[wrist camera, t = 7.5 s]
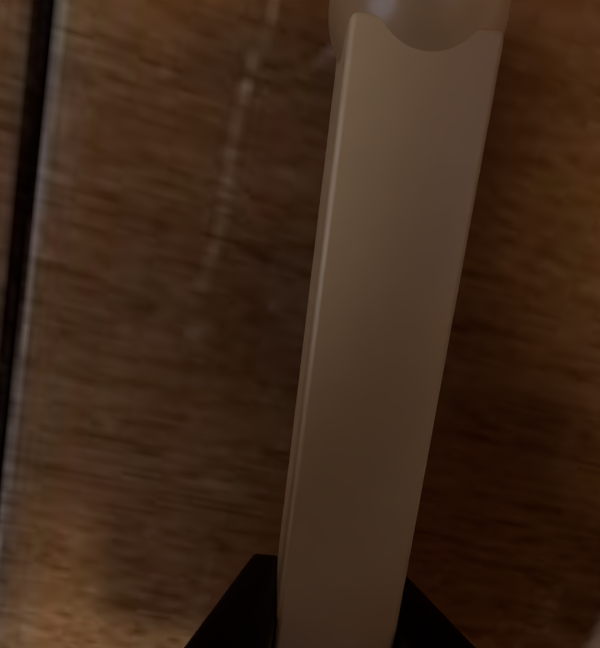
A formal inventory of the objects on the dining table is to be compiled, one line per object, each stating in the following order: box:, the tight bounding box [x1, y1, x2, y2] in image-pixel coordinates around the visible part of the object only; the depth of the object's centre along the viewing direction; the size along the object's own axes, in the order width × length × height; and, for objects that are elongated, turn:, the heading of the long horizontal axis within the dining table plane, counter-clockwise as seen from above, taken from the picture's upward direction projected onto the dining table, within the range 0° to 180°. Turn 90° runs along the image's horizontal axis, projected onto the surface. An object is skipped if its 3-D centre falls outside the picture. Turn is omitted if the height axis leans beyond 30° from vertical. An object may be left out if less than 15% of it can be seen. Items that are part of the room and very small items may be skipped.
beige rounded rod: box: [272, 0, 511, 648], centre depth 8 cm, size 2×19×2 cm, turn 174°
